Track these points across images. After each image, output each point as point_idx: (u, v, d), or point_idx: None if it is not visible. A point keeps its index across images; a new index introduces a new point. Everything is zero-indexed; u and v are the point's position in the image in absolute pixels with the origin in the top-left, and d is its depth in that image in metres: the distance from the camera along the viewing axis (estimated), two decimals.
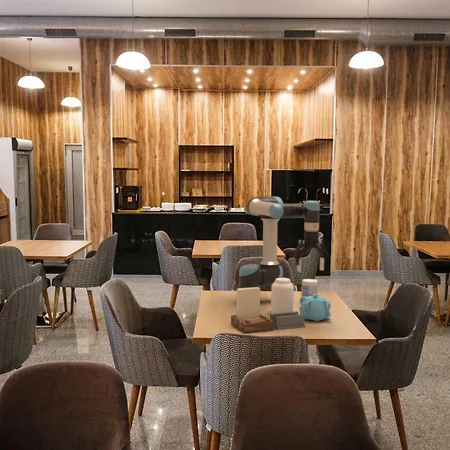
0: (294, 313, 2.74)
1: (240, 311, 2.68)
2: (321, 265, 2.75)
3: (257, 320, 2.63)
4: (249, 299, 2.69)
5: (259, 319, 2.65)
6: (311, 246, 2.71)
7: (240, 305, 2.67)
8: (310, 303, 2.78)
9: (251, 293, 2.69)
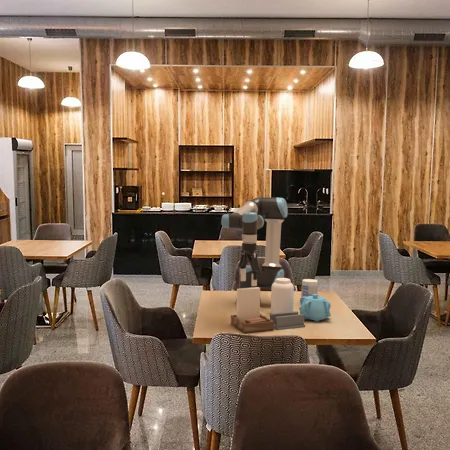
0: (294, 313, 2.74)
1: (240, 311, 2.68)
2: None
3: (257, 320, 2.63)
4: (249, 299, 2.69)
5: (259, 319, 2.65)
6: (246, 258, 2.68)
7: (240, 305, 2.67)
8: (310, 303, 2.78)
9: (251, 293, 2.69)
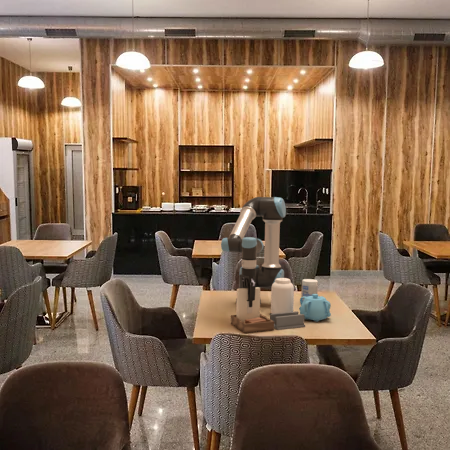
0: (294, 313, 2.74)
1: (240, 311, 2.68)
2: None
3: (257, 320, 2.63)
4: None
5: (259, 319, 2.65)
6: None
7: (240, 305, 2.67)
8: (310, 303, 2.78)
9: None
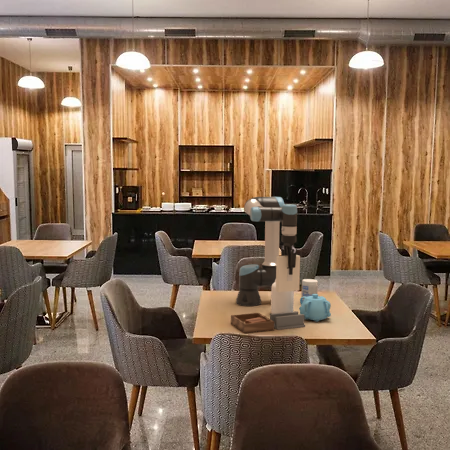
0: (294, 313, 2.74)
1: (280, 279, 2.64)
2: None
3: (257, 320, 2.63)
4: None
5: (259, 319, 2.65)
6: (286, 250, 2.66)
7: (280, 272, 2.64)
8: (310, 303, 2.78)
9: None
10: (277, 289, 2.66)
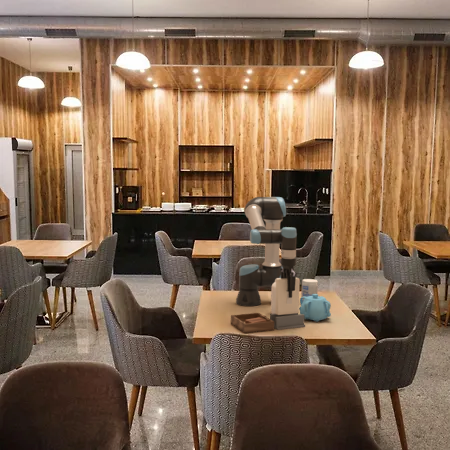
0: (294, 313, 2.74)
1: (279, 302, 2.65)
2: None
3: (257, 320, 2.63)
4: None
5: (259, 319, 2.65)
6: (285, 273, 2.67)
7: (280, 295, 2.65)
8: (310, 303, 2.78)
9: None
10: (277, 312, 2.67)
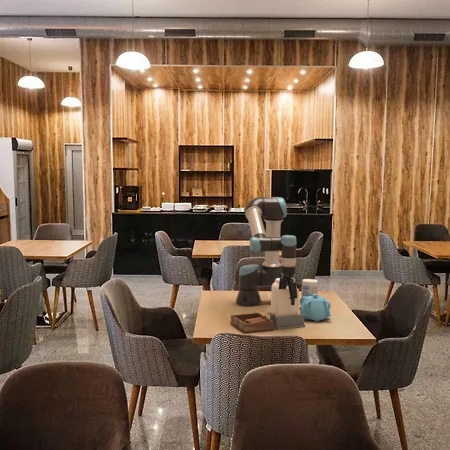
0: None
1: (279, 312, 2.66)
2: None
3: (257, 320, 2.63)
4: (288, 300, 2.68)
5: (259, 319, 2.65)
6: (285, 281, 2.68)
7: (279, 306, 2.66)
8: (310, 303, 2.78)
9: None
10: None
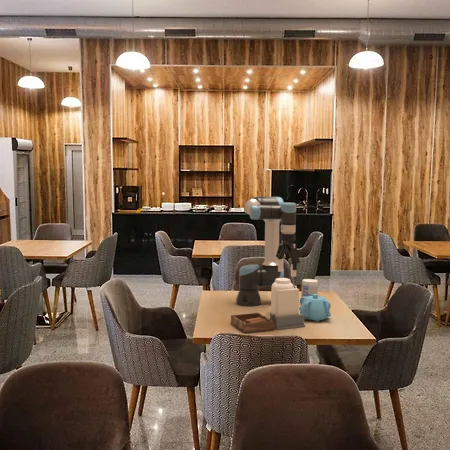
0: None
1: (279, 312, 2.66)
2: None
3: (257, 320, 2.63)
4: (288, 300, 2.67)
5: (259, 319, 2.65)
6: (285, 248, 2.67)
7: (279, 306, 2.66)
8: (310, 303, 2.78)
9: (290, 294, 2.68)
10: None
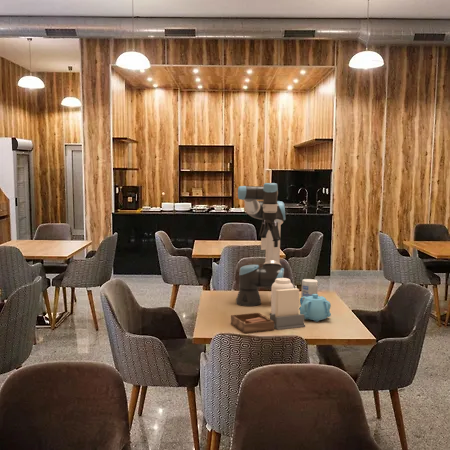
0: None
1: (279, 312, 2.66)
2: None
3: (257, 320, 2.63)
4: (288, 300, 2.67)
5: (259, 319, 2.65)
6: (267, 227, 2.79)
7: (279, 306, 2.66)
8: (310, 303, 2.78)
9: (290, 294, 2.68)
10: None
